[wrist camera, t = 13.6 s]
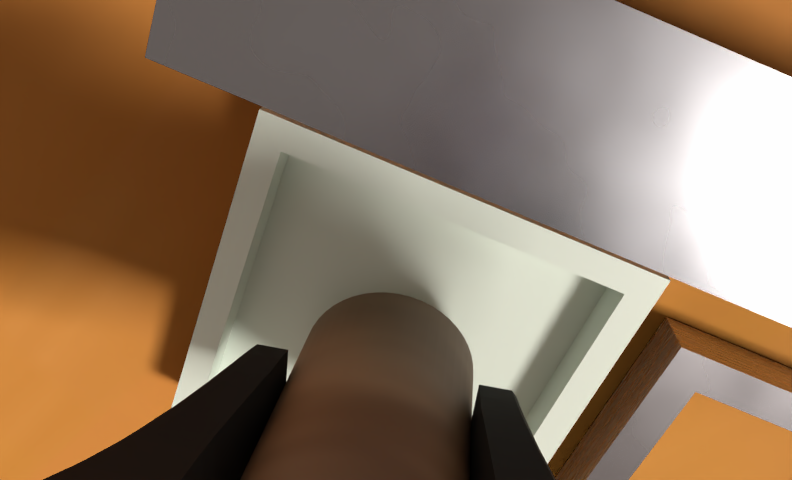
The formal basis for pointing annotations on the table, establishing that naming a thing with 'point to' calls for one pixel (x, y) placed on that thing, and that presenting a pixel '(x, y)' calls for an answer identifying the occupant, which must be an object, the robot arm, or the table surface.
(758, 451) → the table surface
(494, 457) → the robot arm
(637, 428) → the dowel socket
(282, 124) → the tray
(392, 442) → the dowel
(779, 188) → the bench stop
